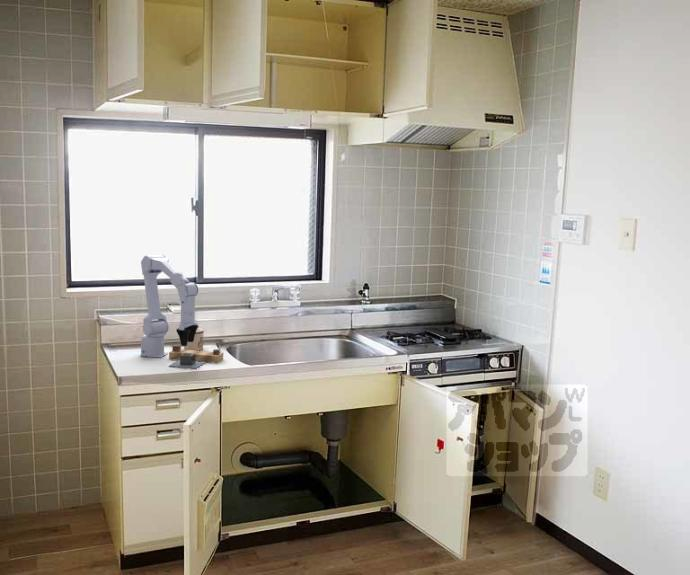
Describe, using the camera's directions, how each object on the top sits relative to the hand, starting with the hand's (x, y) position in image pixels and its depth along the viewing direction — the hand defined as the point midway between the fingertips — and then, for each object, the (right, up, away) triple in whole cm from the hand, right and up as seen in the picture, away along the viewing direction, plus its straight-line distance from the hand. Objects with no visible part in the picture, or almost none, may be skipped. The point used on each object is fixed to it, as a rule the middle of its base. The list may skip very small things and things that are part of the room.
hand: (187, 343), depth 301 cm
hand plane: (+1, -8, +12) cm, 14 cm away
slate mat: (0, -9, +1) cm, 9 cm away
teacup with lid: (-4, -5, +32) cm, 32 cm away
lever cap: (0, -9, +1) cm, 9 cm away
